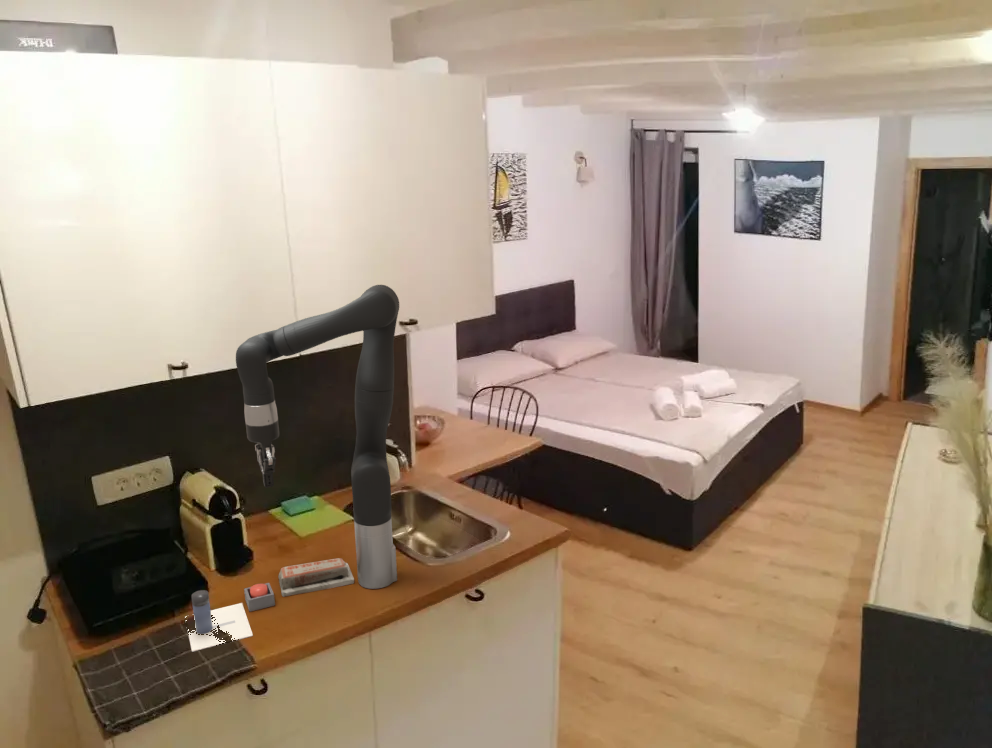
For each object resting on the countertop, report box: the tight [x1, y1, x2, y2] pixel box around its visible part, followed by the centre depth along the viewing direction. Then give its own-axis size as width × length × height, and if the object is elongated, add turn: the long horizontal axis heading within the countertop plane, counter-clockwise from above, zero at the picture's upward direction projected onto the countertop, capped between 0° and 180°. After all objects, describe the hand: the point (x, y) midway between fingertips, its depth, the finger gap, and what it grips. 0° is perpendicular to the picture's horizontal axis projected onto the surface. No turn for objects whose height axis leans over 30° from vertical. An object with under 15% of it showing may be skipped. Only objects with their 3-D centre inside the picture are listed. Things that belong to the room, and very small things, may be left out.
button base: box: [243, 582, 276, 613], centre depth 190 cm, size 6×6×3 cm
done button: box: [250, 583, 268, 598], centre depth 190 cm, size 4×4×3 cm
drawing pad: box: [184, 602, 254, 653], centre depth 181 cm, size 13×15×1 cm
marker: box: [191, 589, 213, 634], centre depth 179 cm, size 4×4×9 cm
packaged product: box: [278, 557, 355, 598], centre depth 200 cm, size 18×5×10 cm
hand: (268, 485), depth 194 cm, fingers closed
